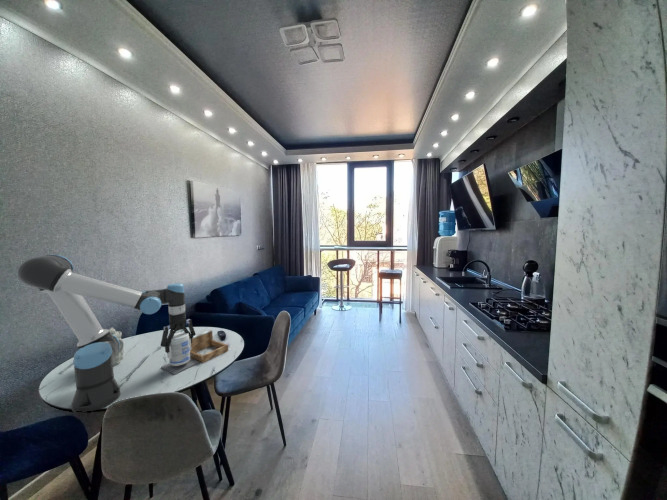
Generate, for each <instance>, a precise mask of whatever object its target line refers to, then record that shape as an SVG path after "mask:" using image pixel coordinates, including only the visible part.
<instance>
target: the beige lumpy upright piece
mask: <svg viewBox="0 0 667 500" xmlns="http://www.w3.org/2000/svg"><path fill="white" fill-rule="evenodd" d="M107 330H109V331H110V333H111V335H114V336H115V337H117V339H118V340H119V345H120V346H119V350H118V353H117V354H116V356H115V358H114V360H113V367H116V366H117V365H119V364H121V360H123V359H124V345H125V344H124V340H123V339H122V335H123V333H122V331H118V330H116V329H115V328H114V327H110V328H108V329H107Z"/></svg>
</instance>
